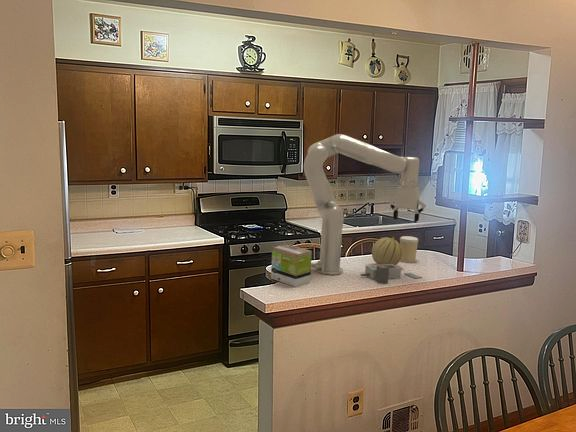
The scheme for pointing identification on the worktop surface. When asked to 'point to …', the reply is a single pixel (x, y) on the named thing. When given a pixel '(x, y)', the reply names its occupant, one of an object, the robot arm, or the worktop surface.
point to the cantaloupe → (387, 251)
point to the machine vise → (371, 269)
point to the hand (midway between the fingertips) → (405, 220)
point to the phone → (412, 275)
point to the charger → (382, 274)
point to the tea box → (291, 265)
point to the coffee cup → (408, 248)
